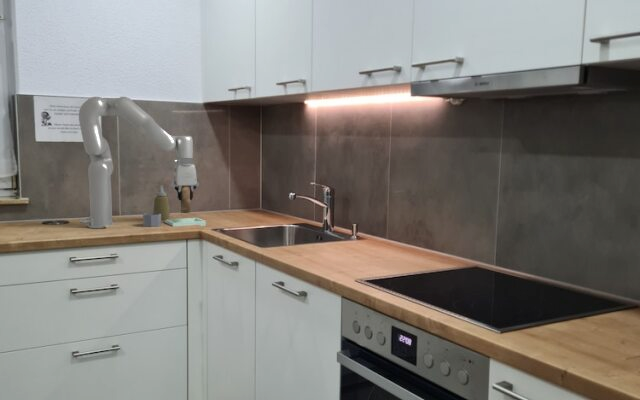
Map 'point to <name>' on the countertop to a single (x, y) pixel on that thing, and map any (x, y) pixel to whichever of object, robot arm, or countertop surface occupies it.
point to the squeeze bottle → (161, 204)
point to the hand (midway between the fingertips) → (185, 199)
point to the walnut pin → (185, 199)
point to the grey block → (152, 220)
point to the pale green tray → (186, 222)
